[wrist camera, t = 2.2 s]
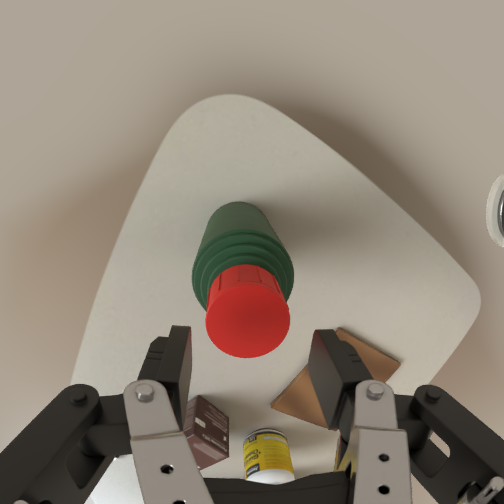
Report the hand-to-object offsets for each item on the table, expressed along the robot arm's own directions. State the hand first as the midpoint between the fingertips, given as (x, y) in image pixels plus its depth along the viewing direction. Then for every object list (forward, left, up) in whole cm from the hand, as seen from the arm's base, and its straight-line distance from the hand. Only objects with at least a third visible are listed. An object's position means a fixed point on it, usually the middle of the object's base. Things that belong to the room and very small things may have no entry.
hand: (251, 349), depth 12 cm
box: (+24, +9, -21) cm, 33 cm away
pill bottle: (+24, +20, -21) cm, 38 cm away
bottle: (0, 0, -21) cm, 21 cm away
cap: (0, 0, -5) cm, 5 cm away
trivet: (+10, +22, -21) cm, 32 cm away
